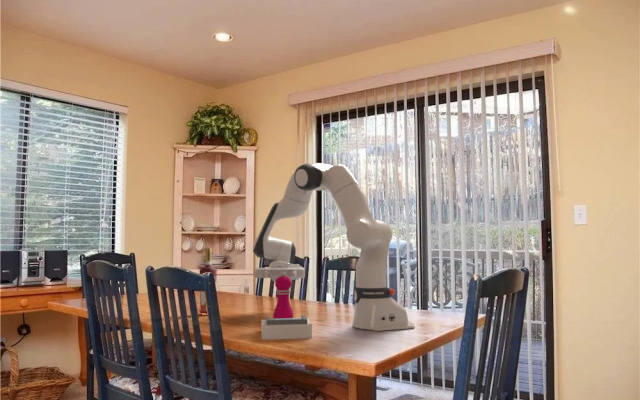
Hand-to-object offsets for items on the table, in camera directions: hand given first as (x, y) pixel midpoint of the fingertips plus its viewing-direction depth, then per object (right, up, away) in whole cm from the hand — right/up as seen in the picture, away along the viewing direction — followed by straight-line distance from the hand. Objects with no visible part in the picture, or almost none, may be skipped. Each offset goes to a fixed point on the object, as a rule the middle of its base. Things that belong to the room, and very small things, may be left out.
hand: (280, 274), depth 186 cm
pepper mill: (+2, -17, -14) cm, 22 cm away
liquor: (-33, -20, +16) cm, 42 cm away
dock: (+4, -16, -27) cm, 31 cm away
